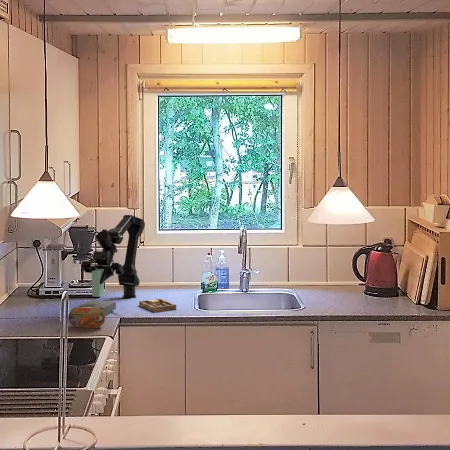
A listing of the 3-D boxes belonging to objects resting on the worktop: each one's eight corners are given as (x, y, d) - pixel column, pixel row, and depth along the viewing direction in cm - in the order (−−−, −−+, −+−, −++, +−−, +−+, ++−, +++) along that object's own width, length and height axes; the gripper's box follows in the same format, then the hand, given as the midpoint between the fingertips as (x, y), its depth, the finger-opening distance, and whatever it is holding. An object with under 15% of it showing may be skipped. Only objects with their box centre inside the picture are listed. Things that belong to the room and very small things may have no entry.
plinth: (91, 308, 331) (91, 300, 330) (115, 310, 327) (115, 302, 327) (78, 314, 319) (78, 305, 319) (103, 317, 316) (103, 307, 315)
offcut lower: (148, 305, 333) (147, 303, 333) (155, 304, 335) (155, 302, 335) (152, 307, 330) (151, 304, 330) (159, 306, 332) (159, 303, 332)
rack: (139, 307, 333) (139, 301, 333) (160, 305, 339) (160, 298, 339) (154, 314, 321) (154, 307, 320) (176, 311, 327) (176, 304, 326)
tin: (68, 327, 299) (68, 307, 298) (71, 325, 302) (70, 305, 301) (103, 329, 296) (103, 308, 295) (106, 327, 299) (106, 306, 298)
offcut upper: (147, 303, 333) (147, 300, 333) (155, 302, 335) (155, 299, 335) (152, 304, 330) (152, 302, 330) (160, 303, 332) (160, 300, 332)
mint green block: (97, 294, 325) (97, 269, 324) (104, 294, 324) (103, 269, 323) (92, 296, 320) (91, 271, 319) (98, 296, 319) (98, 271, 318)
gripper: (82, 242, 326) (70, 271, 317) (120, 244, 321) (110, 274, 312) (90, 257, 335) (79, 286, 325) (128, 259, 329) (118, 288, 320)
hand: (96, 283), depth 320 cm, fingers closed on mint green block, 3 cm apart
